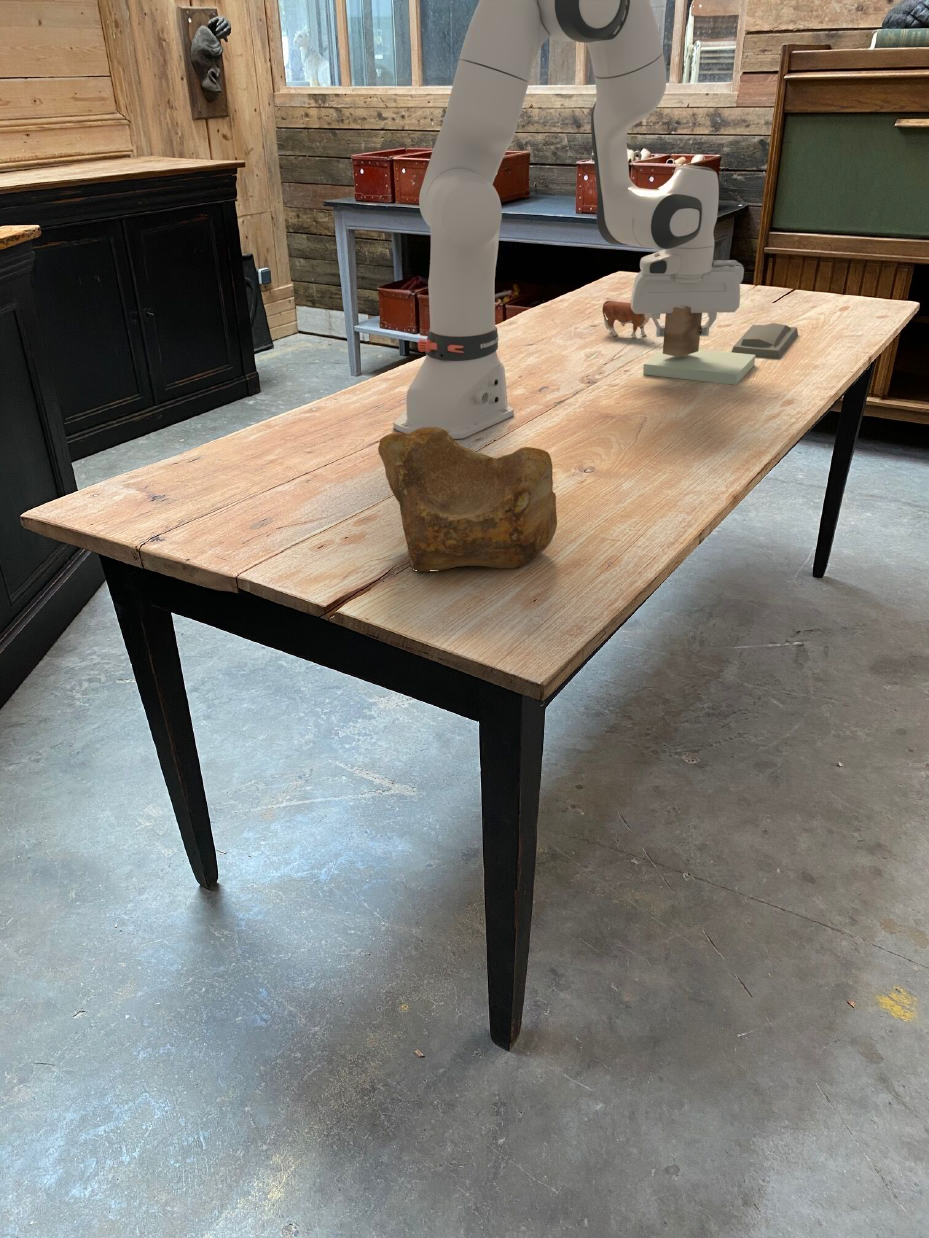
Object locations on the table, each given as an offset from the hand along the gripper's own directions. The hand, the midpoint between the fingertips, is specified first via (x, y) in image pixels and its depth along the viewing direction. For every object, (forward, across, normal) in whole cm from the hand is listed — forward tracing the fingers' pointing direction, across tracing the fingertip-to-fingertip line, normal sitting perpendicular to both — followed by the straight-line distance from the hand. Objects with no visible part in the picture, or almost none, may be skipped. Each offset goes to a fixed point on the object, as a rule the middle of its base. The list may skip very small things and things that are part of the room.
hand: (681, 336), depth 182 cm
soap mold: (+7, -20, -17) cm, 27 cm away
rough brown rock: (+7, +38, +82) cm, 90 cm away
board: (+6, -4, +2) cm, 7 cm away
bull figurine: (+6, +8, -24) cm, 26 cm away
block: (+3, 0, 0) cm, 3 cm away
